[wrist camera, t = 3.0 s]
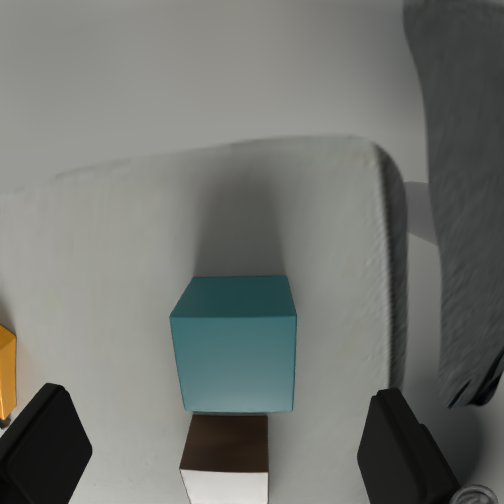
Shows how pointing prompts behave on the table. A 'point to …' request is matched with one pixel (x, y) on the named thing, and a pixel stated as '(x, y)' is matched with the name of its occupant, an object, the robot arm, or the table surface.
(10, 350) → the wide flat orange box
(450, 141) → the table surface
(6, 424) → the red black flat square
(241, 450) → the line block
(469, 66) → the table surface
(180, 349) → the teal block
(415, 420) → the robot arm
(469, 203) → the table surface
